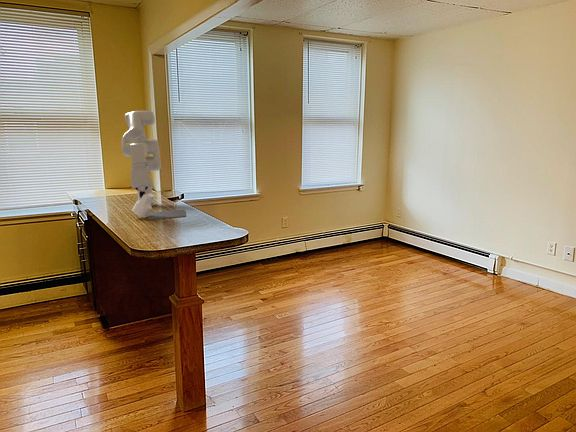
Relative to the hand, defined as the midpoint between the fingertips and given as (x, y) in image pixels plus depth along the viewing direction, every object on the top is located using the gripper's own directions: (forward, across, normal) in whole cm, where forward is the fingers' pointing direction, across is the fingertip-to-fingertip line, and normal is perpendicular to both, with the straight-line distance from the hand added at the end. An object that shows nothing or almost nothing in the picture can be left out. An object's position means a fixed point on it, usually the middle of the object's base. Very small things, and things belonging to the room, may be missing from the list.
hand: (142, 198), depth 241 cm
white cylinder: (+8, +3, 0) cm, 9 cm away
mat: (+11, -12, 0) cm, 16 cm away
